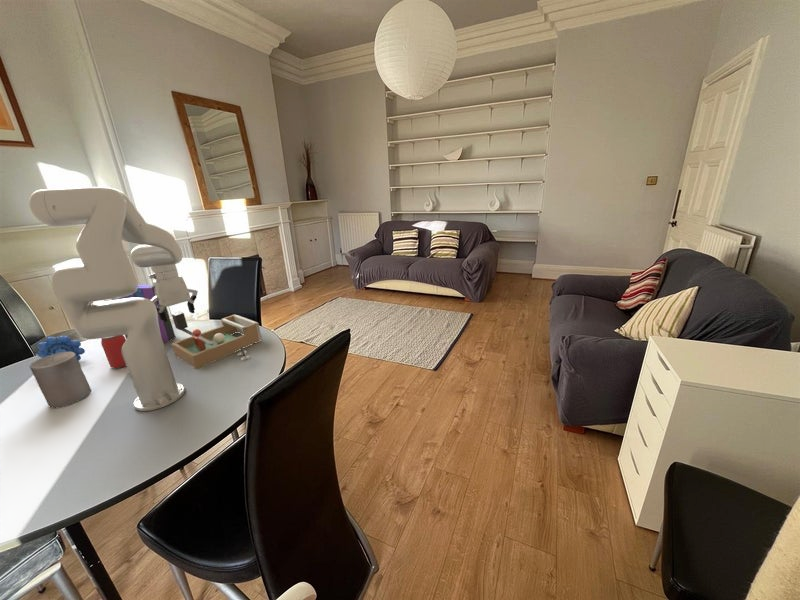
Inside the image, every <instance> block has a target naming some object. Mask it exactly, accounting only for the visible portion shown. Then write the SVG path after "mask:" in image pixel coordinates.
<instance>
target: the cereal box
mask: <svg viewBox="0 0 800 600" xmlns="http://www.w3.org/2000/svg"><path fill="white" fill-rule="evenodd" d="M135 297H141V298H147V299H149V300H151V299H152V298H154V297H155V292H154V286H153V284H140V285H139V284H138V288H137V290H136V292H135V293H133V294H132V295H129V296H125V297H121V298H115V299H111V301H112V300H118V299H126V298H135ZM154 304H155V306H156V308H157V307H158V305H159V304H158V303H157V301H156V302H155V303H154ZM167 308H168V307H165V308H164V310H163V312H165V315H166V318H167V322H164V321H163V320H161V319H160V316H159V313H158V312H157V314H158V323H159V329H160V333H161V337H162V340H163V343H169V342H170V340H171V339H172V340H174V339H175V338H176V334H175V331H174V328H173V325H172V322H171V318H170V315H169V312H168V309H167ZM124 337H125V339H127V337H128V336H127V335H124ZM174 337H175V338H174ZM173 338H174V339H173ZM172 340H171V341H172ZM168 341H169V342H168Z"/></svg>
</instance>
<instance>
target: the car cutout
mask: <svg viewBox="0 0 800 600" xmlns="http://www.w3.org/2000/svg"><path fill="white" fill-rule="evenodd" d="M245 352H247V350H244V349H243V348H242V347H241V350H240V351H238V353H237V356H238V355H240V354H243V355H242V356H241V355H240V357H241V358H240V360H242V359H245V358H247V357H250V358H251V355H249V354H247V355H246V354H245ZM245 360H246V359H245ZM242 361H243V360H242Z"/></svg>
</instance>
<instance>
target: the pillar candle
mask: <svg viewBox="0 0 800 600" xmlns="http://www.w3.org/2000/svg"><path fill="white" fill-rule="evenodd" d="M29 369H30V371H31V373H32V374H33V377H34V379H35V381H36V383H37V385H38V387H39V390H40V391H41V393H42V395H43V397H44V398H45V399H44V400H45V401H46V403H47V405H48V407H49V406H50V407H49V408H51V407H54V408H53V409H56V408H55V407H59V408H63V406H64V407H67V406H71V405H73V404H76V403H79V402H80V401H81V400H83V399H85V398H86V397H87V395H88V396H89V395H90V394H91V393H90V392H92V389H91V387H90V385H89V382H88V380H87V377H86V375H85V374H84V372H83V369H82V366H81V364H80V361H78V360H77V357H76V355H75V353H74V352H61V353H56V354H52V355H49V356H46V357H43V358H41V357H40V358H39V359H37V360H35V361H33V362H31V364H30V365H29ZM89 393H90V394H89Z"/></svg>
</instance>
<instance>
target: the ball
mask: <svg viewBox="0 0 800 600" xmlns="http://www.w3.org/2000/svg"><path fill="white" fill-rule="evenodd" d="M213 340H214V341H215V342H216V343H222V342H223V341H224V340H225V336H224V334H222V333H217V334H215V335H214V337H213Z"/></svg>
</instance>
